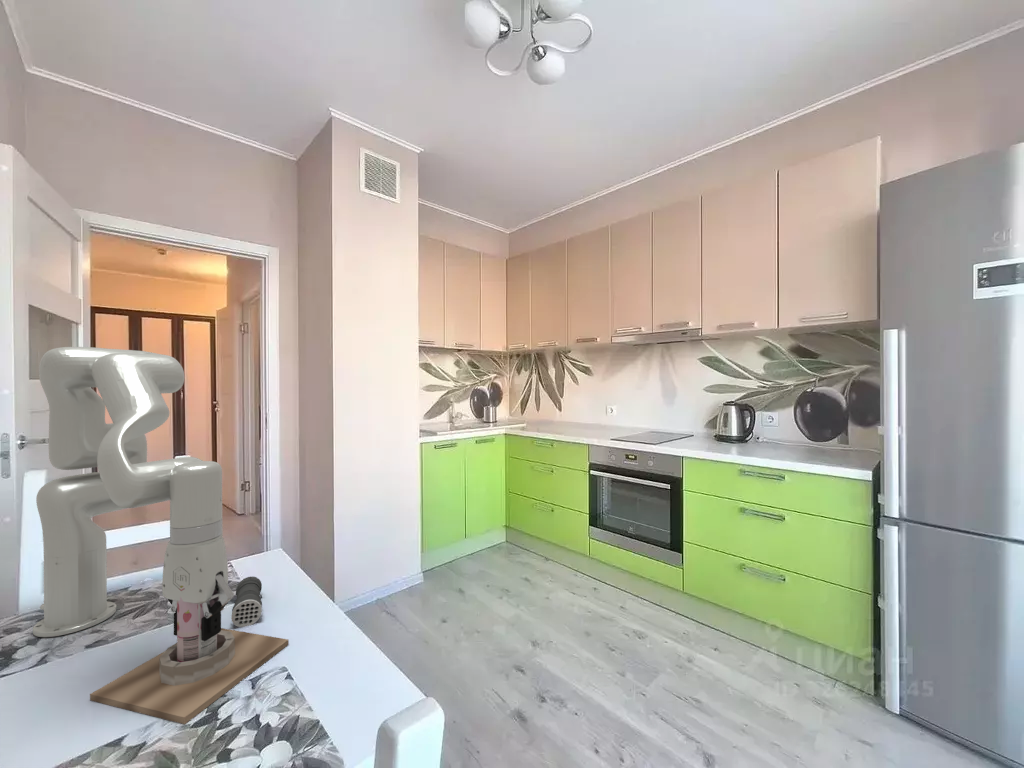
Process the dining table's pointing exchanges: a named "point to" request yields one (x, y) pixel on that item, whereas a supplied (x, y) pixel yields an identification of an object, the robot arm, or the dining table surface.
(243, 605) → the flashlight
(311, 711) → the dining table surface
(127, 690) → the socket board
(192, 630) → the beverage can
